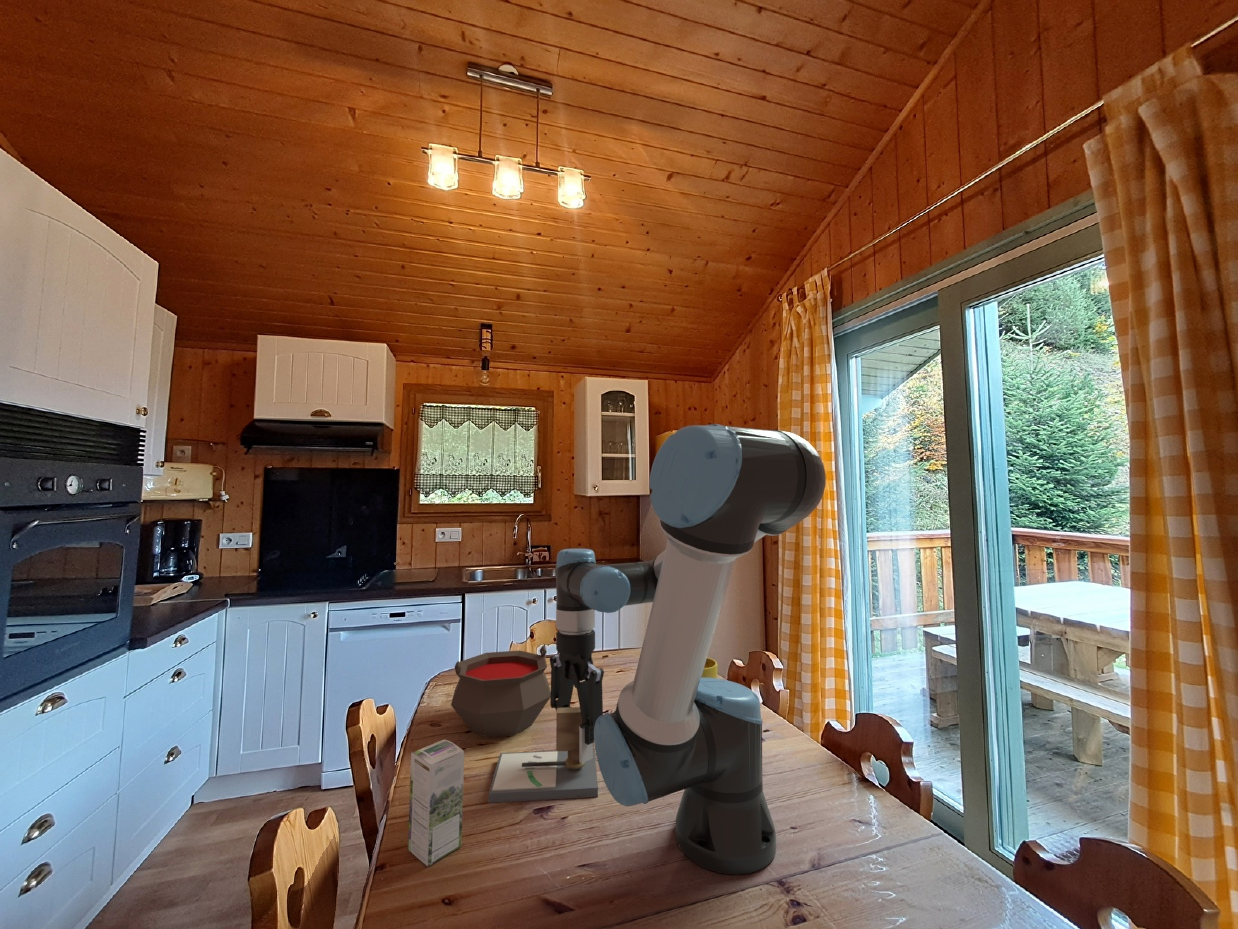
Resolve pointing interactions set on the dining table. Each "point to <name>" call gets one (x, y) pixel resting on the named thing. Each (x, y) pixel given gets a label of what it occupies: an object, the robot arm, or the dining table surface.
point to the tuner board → (541, 778)
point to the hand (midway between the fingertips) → (575, 754)
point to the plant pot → (710, 669)
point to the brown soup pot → (501, 691)
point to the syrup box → (436, 801)
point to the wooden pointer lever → (566, 738)
